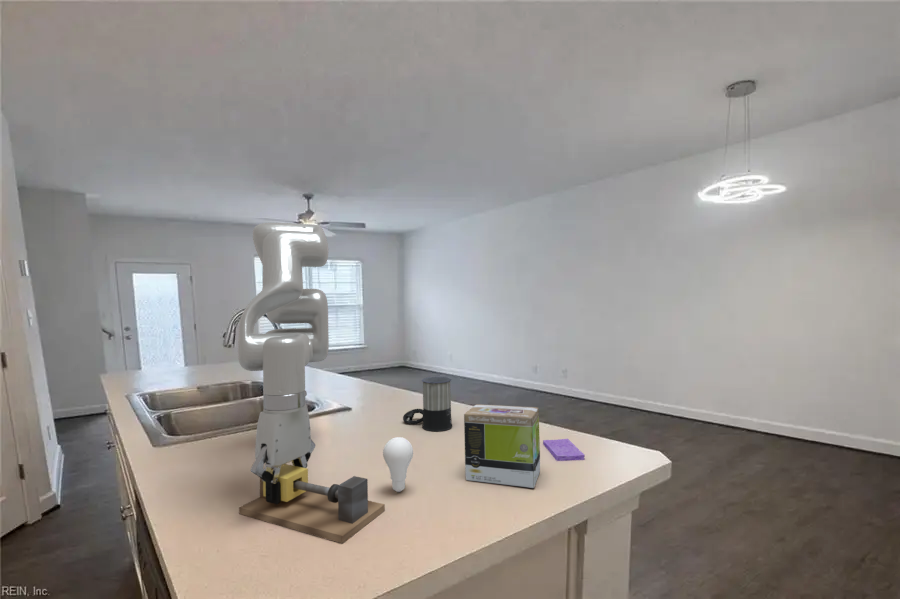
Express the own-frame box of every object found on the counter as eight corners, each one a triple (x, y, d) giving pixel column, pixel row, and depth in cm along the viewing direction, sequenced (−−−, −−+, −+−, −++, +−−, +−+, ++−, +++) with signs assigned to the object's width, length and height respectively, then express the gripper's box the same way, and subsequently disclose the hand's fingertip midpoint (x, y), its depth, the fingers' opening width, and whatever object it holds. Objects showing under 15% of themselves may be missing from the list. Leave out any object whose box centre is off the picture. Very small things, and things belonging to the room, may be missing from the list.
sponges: (556, 463, 105) (556, 455, 105) (542, 445, 118) (542, 438, 118) (585, 462, 106) (585, 454, 106) (568, 444, 118) (568, 437, 118)
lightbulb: (389, 500, 86) (388, 444, 86) (379, 489, 91) (378, 436, 91) (418, 494, 88) (417, 439, 88) (407, 483, 94) (406, 431, 94)
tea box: (540, 471, 99) (540, 406, 99) (534, 490, 90) (533, 417, 90) (476, 464, 104) (475, 402, 104) (463, 481, 95) (463, 412, 95)
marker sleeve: (263, 495, 83) (263, 473, 83) (285, 484, 88) (285, 463, 88) (286, 501, 80) (286, 479, 80) (308, 490, 85) (307, 468, 85)
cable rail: (239, 513, 81) (238, 474, 81) (288, 488, 92) (288, 453, 92) (342, 543, 71) (342, 498, 71) (384, 510, 82) (384, 471, 82)
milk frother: (452, 432, 130) (451, 381, 130) (398, 432, 130) (398, 382, 130) (452, 418, 144) (452, 373, 144) (404, 419, 144) (404, 374, 144)
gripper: (302, 391, 94) (303, 476, 94) (232, 409, 78) (233, 511, 78) (330, 393, 90) (331, 482, 90) (262, 414, 75) (263, 520, 75)
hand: (286, 494), depth 84 cm, fingers closed on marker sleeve, 5 cm apart
